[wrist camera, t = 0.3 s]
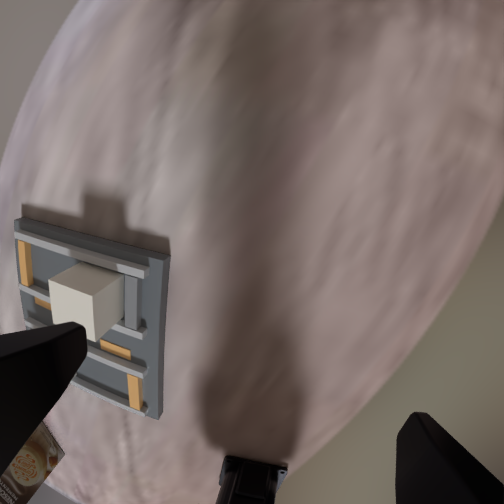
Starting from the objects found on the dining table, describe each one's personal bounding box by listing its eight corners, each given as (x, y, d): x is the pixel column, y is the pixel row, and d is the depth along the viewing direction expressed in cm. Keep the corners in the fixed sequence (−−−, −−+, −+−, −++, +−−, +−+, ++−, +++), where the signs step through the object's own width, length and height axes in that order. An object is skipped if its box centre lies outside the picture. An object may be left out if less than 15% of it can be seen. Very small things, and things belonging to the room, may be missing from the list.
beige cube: (123, 316, 22) (95, 342, 18) (83, 301, 23) (53, 323, 19) (124, 274, 21) (92, 296, 17) (82, 261, 22) (48, 279, 18)
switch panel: (162, 412, 26) (155, 425, 25) (39, 355, 28) (29, 364, 26) (170, 255, 22) (158, 264, 20) (23, 217, 23) (8, 221, 21)
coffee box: (67, 455, 35) (18, 519, 20) (43, 446, 36) (-4, 503, 21) (38, 414, 33) (-23, 479, 18) (16, 406, 34) (-41, 463, 19)
